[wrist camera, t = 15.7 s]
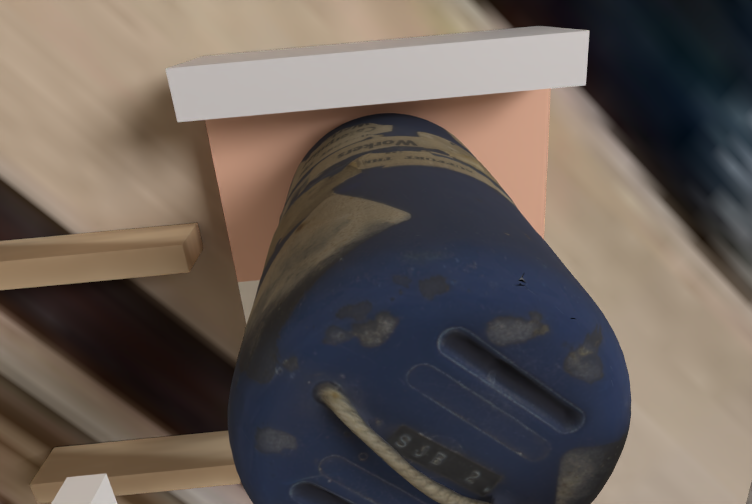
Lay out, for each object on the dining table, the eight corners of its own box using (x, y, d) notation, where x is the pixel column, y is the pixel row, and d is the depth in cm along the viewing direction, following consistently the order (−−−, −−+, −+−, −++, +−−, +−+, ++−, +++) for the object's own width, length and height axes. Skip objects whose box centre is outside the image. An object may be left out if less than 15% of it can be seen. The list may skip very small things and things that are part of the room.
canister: (408, 63, 25) (529, 168, 8) (516, 219, 28) (755, 514, 12) (248, 188, 27) (93, 472, 10) (366, 321, 30) (391, 696, 14)
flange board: (526, 398, 35) (559, 470, 30) (274, 422, 35) (261, 499, 30) (539, 26, 26) (589, 30, 21) (203, 56, 26) (165, 68, 21)
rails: (248, 447, 36) (239, 483, 33) (61, 465, 36) (37, 503, 33) (197, 222, 30) (182, 244, 27) (-29, 243, 29) (-68, 268, 27)
